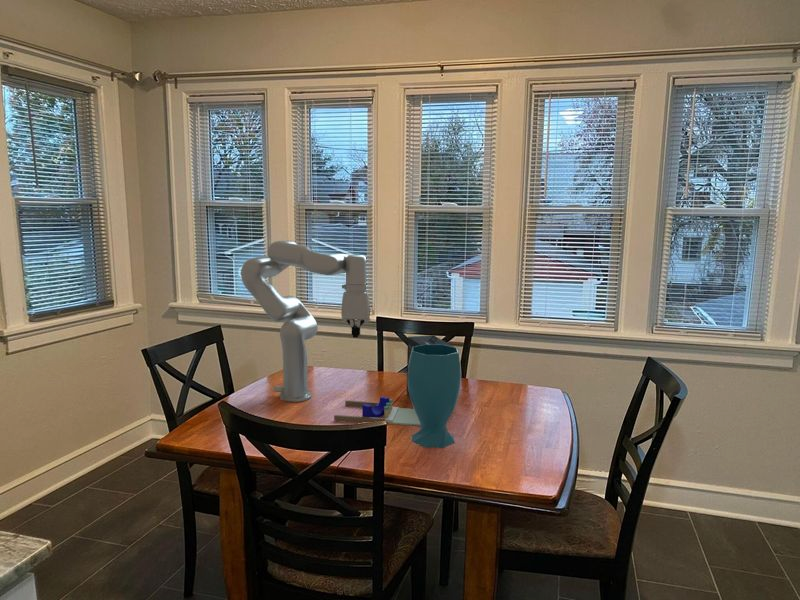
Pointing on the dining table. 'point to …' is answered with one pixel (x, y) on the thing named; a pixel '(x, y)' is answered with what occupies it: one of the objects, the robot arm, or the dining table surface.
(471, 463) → the dining table surface
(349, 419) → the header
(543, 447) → the dining table surface
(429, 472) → the dining table surface
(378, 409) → the cable clip
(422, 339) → the headset box
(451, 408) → the vase
